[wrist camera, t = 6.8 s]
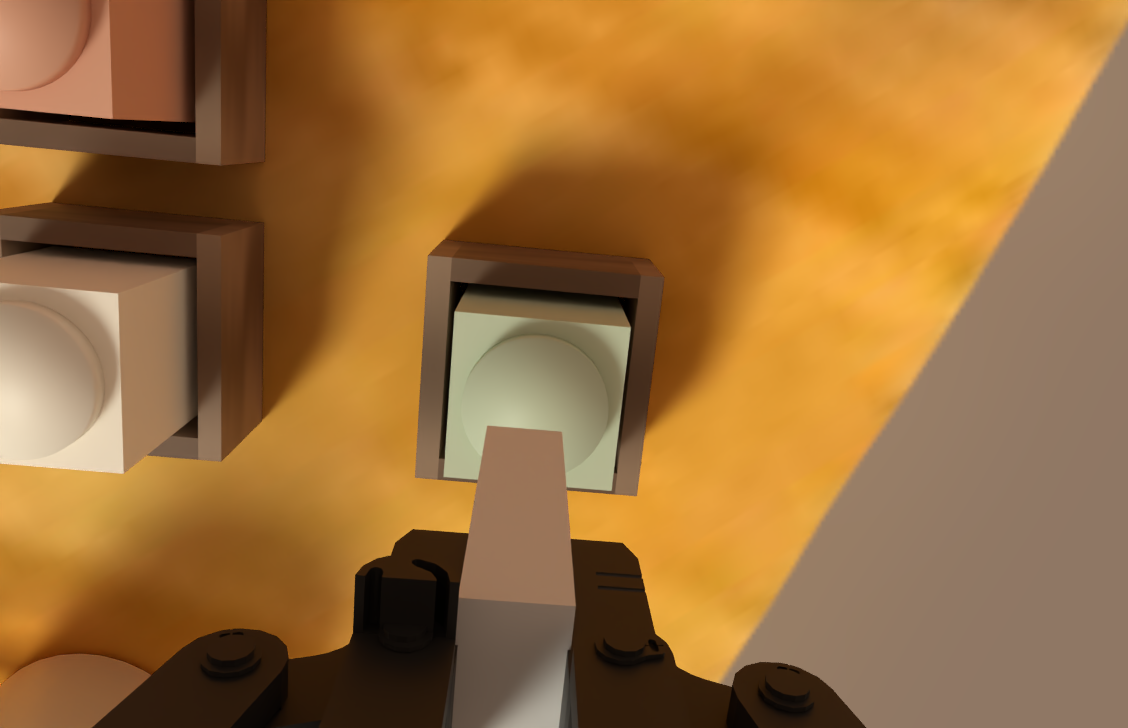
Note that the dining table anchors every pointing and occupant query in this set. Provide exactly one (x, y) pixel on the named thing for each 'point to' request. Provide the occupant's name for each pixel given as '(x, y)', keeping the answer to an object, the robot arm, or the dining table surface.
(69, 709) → the mug
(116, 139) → the collar brown
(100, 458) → the cap cream
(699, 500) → the dining table surface
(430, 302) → the brown square tray
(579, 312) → the cap sage
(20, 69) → the cap terracotta
